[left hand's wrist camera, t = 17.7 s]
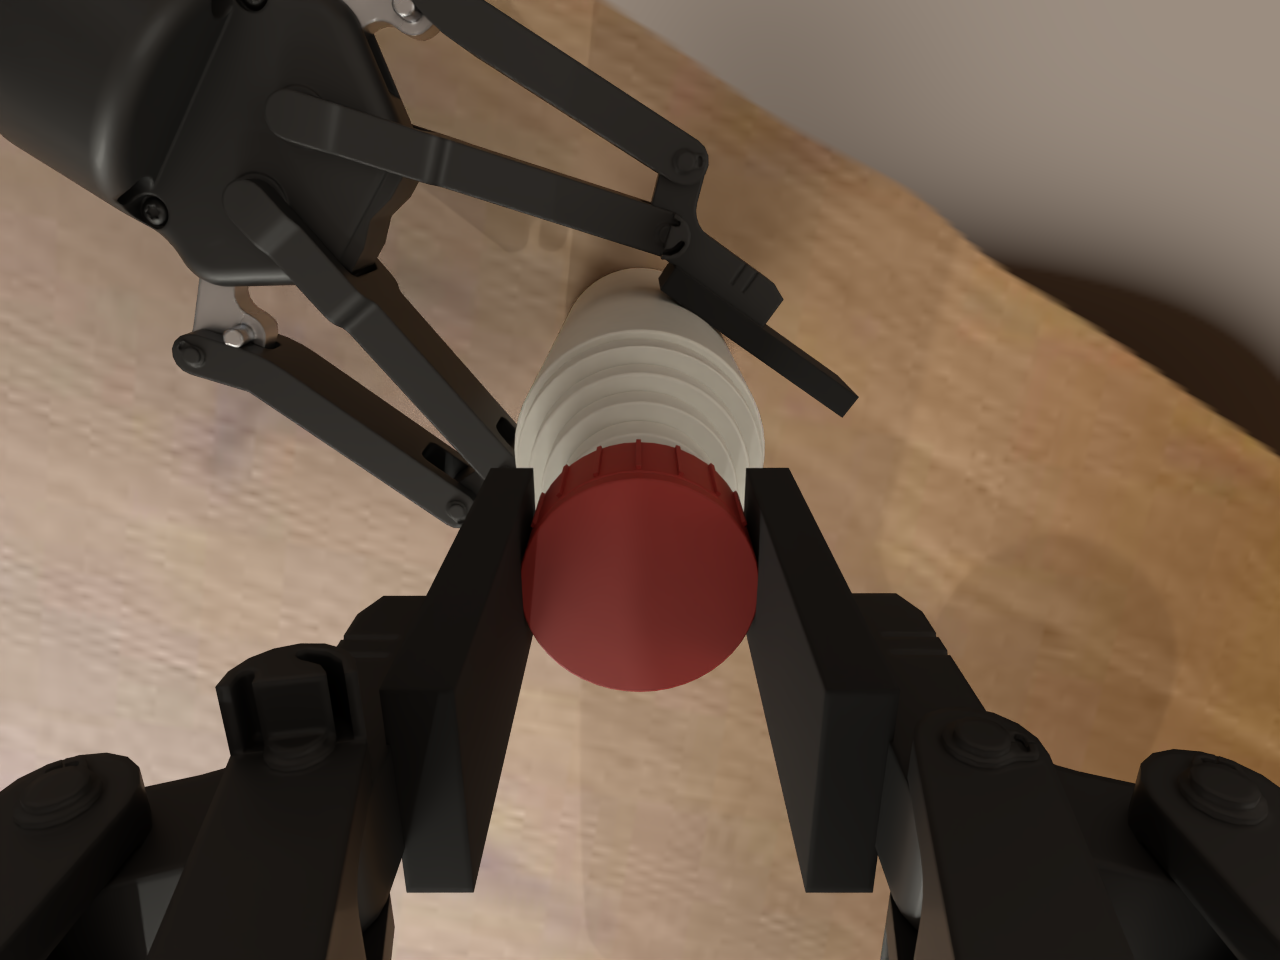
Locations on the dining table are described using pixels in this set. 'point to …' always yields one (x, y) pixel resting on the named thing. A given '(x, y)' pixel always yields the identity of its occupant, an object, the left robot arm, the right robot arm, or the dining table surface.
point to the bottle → (638, 385)
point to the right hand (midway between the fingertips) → (772, 478)
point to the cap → (639, 568)
